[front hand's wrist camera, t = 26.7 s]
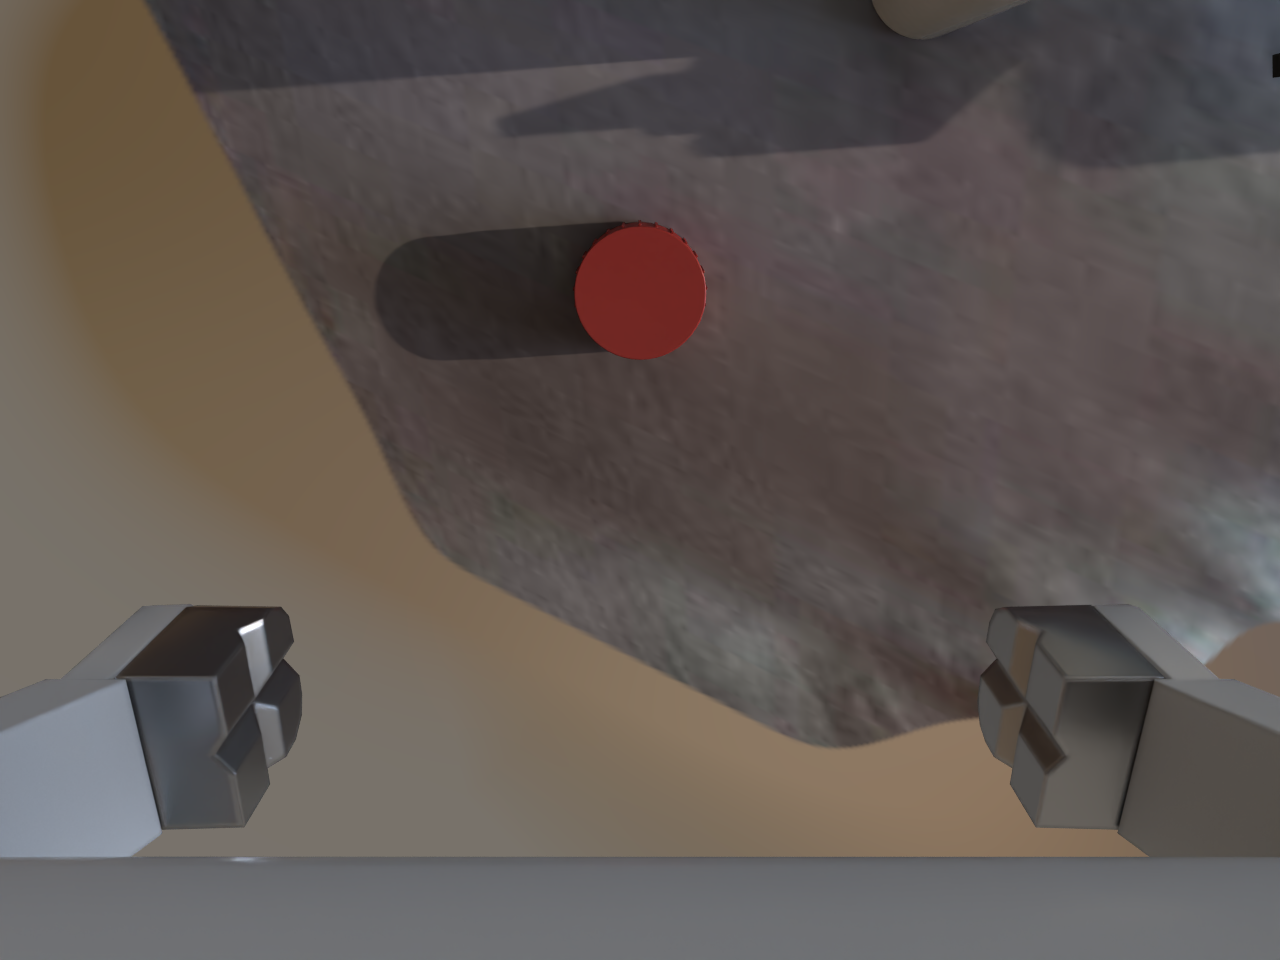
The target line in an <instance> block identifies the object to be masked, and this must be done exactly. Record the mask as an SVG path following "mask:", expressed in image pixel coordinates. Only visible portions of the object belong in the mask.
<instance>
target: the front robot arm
mask: <svg viewBox="0 0 1280 960" xmlns="http://www.w3.org/2000/svg"><path fill="white" fill-rule="evenodd" d="M293 642H294V639H293V634H292V629H291V624H290V619H289V616H288V614H287V613H286V612H285V611H284V610H283V609H282V607H266V606H212V605H196V606H193V605H191V604H179V605H152V606H142V607H141V608H140V609H139V610H138V611H137V612H135V613H134V614H133V615H132V616H131V617H130V618H129V619H128V620H126V621H125V622H124V623H123V624H122V625H121V626H120V627H119V628H117V629H116V630H115V631H114V632H113V633H112V634H111V635H110V636H109V637H107V638H106V639H105V640H104V641H103V642H102V643H101V644H99V646H97V647H96V648H95V649H94V650H93V651H92V652H91V653H89V654H88V655H87V656H86V657H85V658H84V659H83V660H81V661H80V662H79V663H78V664H77V665H76V666H75V667H74V668H72V669H71V670H70V671H69V672H68V673H67V674H66V675H65V676H64V677H62V678H61V679H45V680H43V681H40V682H38V683H35V684H33V685H30V686H28V687H25V688H22V689H20V690H17V691H15V692H12V693H10V694H7V695H5V696H2V697H0V960H1280V697H1278V696H1275V695H1273V694H1270V693H1268V692H1265V691H1262V690H1260V689H1257V688H1255V687H1252V686H1250V685H1247V684H1245V683H1242V682H1240V681H1237V680H1235V679H1219V678H1218V677H1217V676H1215V675H1214V674H1213V673H1212V672H1211V671H1210V670H1209V669H1208V668H1206V667H1205V666H1204V665H1203V664H1202V663H1201V662H1200V661H1199V660H1198V659H1196V658H1195V657H1194V656H1193V655H1192V654H1191V653H1190V652H1189V651H1187V650H1186V649H1185V648H1184V647H1183V646H1182V645H1181V644H1180V643H1178V642H1177V641H1176V640H1175V639H1174V638H1173V637H1172V636H1171V635H1169V634H1168V633H1167V632H1166V631H1165V630H1164V629H1163V628H1162V627H1161V626H1159V625H1158V624H1157V623H1156V622H1155V621H1154V620H1153V619H1152V618H1150V617H1149V616H1148V615H1147V614H1146V613H1145V612H1144V611H1143V610H1141V609H1140V608H1139V607H1136V606H1132V605H1129V604H1117V605H1094V606H1091V605H1066V606H1024V607H1003V608H998V609H995V611H994V613H993V615H992V617H991V620H990V622H989V627H988V633H987V639H986V642H987V644H988V646H989V647H990V649H991V650H992V652H993V653H994V655H995V656H996V658H997V659H996V660H995V661H994V662H993V663H992V664H991V665H990V666H989V667H988V668H987V669H986V670H985V671H984V672H983V673H982V675H981V677H980V685H979V693H978V711H979V721H980V727H981V730H982V733H983V736H984V739H985V742H986V744H987V745H988V747H989V749H990V751H991V752H992V754H993V756H994V757H995V758H997V759H998V760H1000V761H1001V762H1003V763H1005V764H1006V765H1008V766H1010V767H1011V768H1013V769H1012V775H1011V781H1010V785H1011V787H1012V788H1013V790H1014V792H1015V793H1016V795H1017V797H1018V798H1019V800H1020V802H1021V803H1022V805H1023V807H1024V808H1025V810H1026V812H1027V813H1028V815H1029V817H1030V818H1031V820H1032V822H1033V823H1034V825H1035V827H1040V828H1078V829H1114V830H1118V834H1119V835H1121V836H1122V837H1123V838H1125V839H1126V840H1128V841H1129V842H1130V843H1132V844H1133V845H1134V846H1136V847H1137V848H1138V849H1140V850H1141V851H1142V852H1144V853H1145V854H1146V855H1148V856H1149V857H131V856H132V855H134V854H135V853H136V852H138V851H139V850H141V849H142V848H143V847H145V846H146V845H147V844H149V843H150V842H151V841H153V840H154V839H155V838H157V837H158V836H160V835H161V834H162V830H166V829H202V828H237V827H245V825H246V823H247V822H248V820H249V818H250V817H251V815H252V813H253V812H254V810H255V808H256V807H257V805H258V803H259V802H260V800H261V798H262V797H263V795H264V793H265V792H266V790H267V788H268V787H269V785H270V781H269V775H268V769H267V768H269V767H270V766H272V765H274V764H275V763H277V762H279V761H280V760H282V759H283V758H285V757H286V756H287V754H288V752H289V751H290V749H291V747H292V745H293V743H294V742H295V740H296V736H297V732H298V728H299V724H300V720H301V716H302V691H301V683H300V677H299V675H298V673H297V672H296V671H295V670H294V669H293V668H292V667H291V666H290V665H289V664H288V663H287V662H286V661H285V660H284V659H283V658H284V656H285V655H286V653H287V652H288V650H289V649H290V647H291V646H292V644H293Z"/></svg>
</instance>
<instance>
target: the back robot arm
mask: <svg viewBox="0 0 1280 960" xmlns="http://www.w3.org/2000/svg"><path fill="white" fill-rule="evenodd" d="M1274 77H1280V53H1279V54H1275V55H1273V78H1274Z"/></svg>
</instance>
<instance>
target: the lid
mask: <svg viewBox="0 0 1280 960" xmlns="http://www.w3.org/2000/svg"><path fill="white" fill-rule="evenodd" d="M592 244H593V245H592V246H591V247H590V249H589V250H588V252H586V251H585V253H584V255H583V257H582V258H583V261H582V263H581V265H580V266H579V267H578V269H577V271H576V274H577V276H576V281H575V286H574V288H573V290H574V297H575V307H576V310H577V313H578V316H579V319H580V322H581V323H582V325H583V327H584V329H585V330H586V331H587V333H588V334H589V336H590V337H591V338H592V339H593V340H594V341H595V342H596V343H597V344H599V345H600V346H601V347H602V348H604V349H605V350H607V351H609V352H611V353H613V354H615V355H618V356H621V357H624V358H629V359H638V360H642V359H651V358H657V357H660V356H663V355H665V354H667V353H670V352H672V351H673V350H675V349H676V348H678V347H679V346H681V345H682V344H683V343H684V342H685V341H686V340H687V339H688V338H689V337H690V336H691V335H692V333H693V332H694V330H695V329H696V328H697V326H698V324H699V322H700V321H701V317H702V314H703V311H704V307H705V306H706V303H705V301H706V290H707V286H706V284H705V278H704V275H703V273H705V272H704V270H703V268H702V266H701V265H700V264H699V262H698V260H697V257H698V256H697V254H696V252H695V251H692V250H691V248H690V247H689V246H688V244H687V241H686V239H685V238H683V239H682V238H681V237H680V236H678V235H677V234H676V233H674V232H673V229H671V228H670V229H667V228H665V227H663V226H660V225H658V224H657V222H655V224H652V223H646V222H641V220H639V221H638V222H634V223H628V224H625V222H624V223H622V225H620V226H618V227H615V228H613V229H611V230H610V229H607V231H606V233H605V234H603V235H602V236H601V237H600V238H599V239H595V240H594V241H593V243H592Z"/></svg>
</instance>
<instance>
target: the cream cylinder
mask: <svg viewBox="0 0 1280 960" xmlns="http://www.w3.org/2000/svg"><path fill="white" fill-rule="evenodd" d="M1029 1H1031V0H872V3H873V5H874V8H875V10H876V12H877V13H878V15H879V16H880V18H881V19H882V20H883V22H884V23H885V24H886V25H887V26H888V27H889V28H891V29H892V30H893V31H895V32H897V33H898V34H900V35H903V36H905V37H908V38H912V39H931V38H936V37H939V36H942V35H945V34H948V33H950V32H953V31H955V30H958V29H960V28H963V27H965V26H968V25H970V24H973V23H975V22H978V21H981V20H983V19H986V18H988V17H991V16H993V15H996V14H998V13H1001V12H1003V11H1006V10H1008V9H1011V8H1013V7H1016V6H1019V5H1021V4H1024V3H1026V2H1029Z"/></svg>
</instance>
